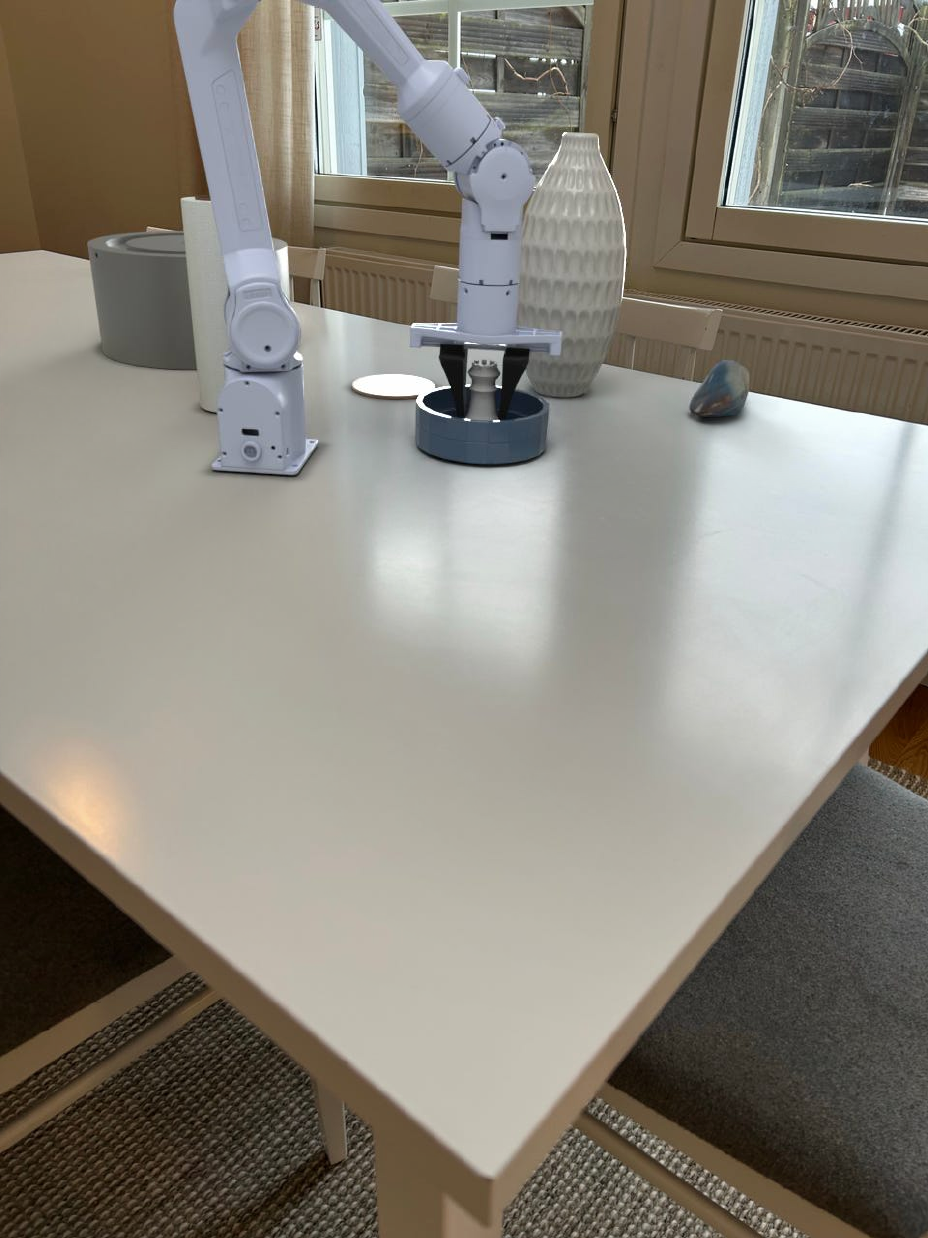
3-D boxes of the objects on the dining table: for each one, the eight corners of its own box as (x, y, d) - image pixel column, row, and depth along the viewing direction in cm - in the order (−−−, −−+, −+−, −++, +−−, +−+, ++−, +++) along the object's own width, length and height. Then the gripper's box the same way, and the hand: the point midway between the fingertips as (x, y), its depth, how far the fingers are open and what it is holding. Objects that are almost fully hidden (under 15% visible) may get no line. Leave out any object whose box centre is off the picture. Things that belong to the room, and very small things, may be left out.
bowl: (545, 471, 90) (548, 425, 88) (407, 463, 91) (408, 417, 89) (546, 430, 102) (549, 388, 100) (424, 422, 103) (425, 381, 101)
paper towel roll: (194, 413, 102) (172, 197, 92) (208, 398, 108) (189, 192, 98) (261, 416, 103) (246, 200, 92) (271, 400, 108) (259, 195, 98)
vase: (491, 381, 119) (503, 129, 106) (581, 375, 124) (604, 132, 110) (533, 408, 109) (553, 133, 96) (630, 401, 113) (662, 136, 100)
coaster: (429, 401, 110) (429, 398, 110) (344, 396, 111) (344, 392, 111) (439, 379, 119) (439, 376, 119) (360, 375, 119) (360, 372, 119)
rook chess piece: (498, 450, 94) (503, 369, 90) (454, 446, 95) (457, 365, 91) (506, 437, 98) (510, 359, 94) (463, 433, 99) (466, 355, 95)
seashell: (700, 403, 103) (775, 349, 103) (662, 391, 111) (731, 341, 111) (723, 450, 106) (796, 397, 106) (684, 434, 114) (752, 386, 114)
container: (72, 339, 130) (56, 236, 124) (234, 320, 145) (227, 227, 139) (154, 379, 114) (140, 262, 108) (327, 353, 129) (324, 249, 123)
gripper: (565, 278, 92) (554, 415, 99) (417, 270, 93) (415, 407, 99) (566, 290, 86) (554, 436, 92) (407, 282, 87) (406, 427, 93)
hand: (481, 422), depth 95 cm, fingers closed on rook chess piece, 3 cm apart
